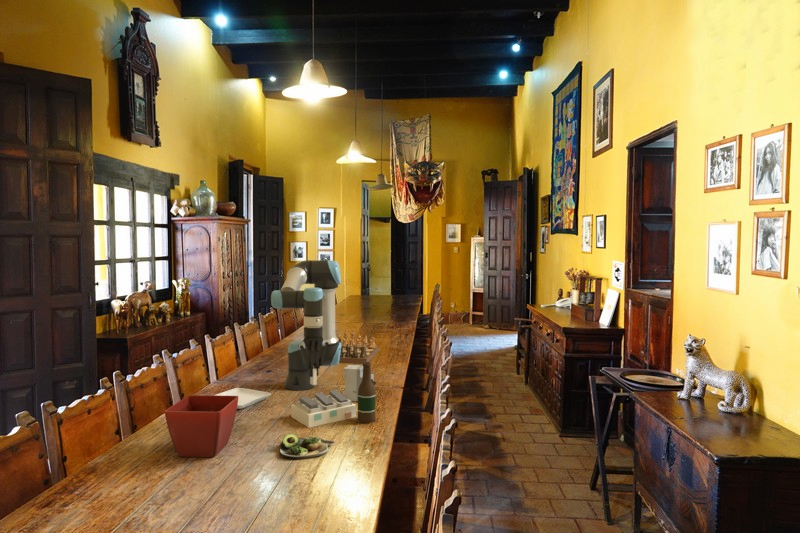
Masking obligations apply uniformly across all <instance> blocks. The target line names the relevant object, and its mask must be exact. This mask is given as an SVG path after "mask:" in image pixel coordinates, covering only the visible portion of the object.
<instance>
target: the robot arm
mask: <svg viewBox="0 0 800 533" xmlns="http://www.w3.org/2000/svg"><path fill="white" fill-rule="evenodd" d="M341 275H342V274H341V269H340V265H339V263H338V261H337V260H331V259H324V260H323V259H321V260H320V259H319V260H318V259H317V260H315V259H314V260H311V259H310V260H308V259H307V260H302V261H300V262H297V263H296V264H294V265H293V266H291V267H290V268H289V270H288V271H287V272H286V279H285V281H284V283H283V285H282V287H281V288H280V289H278V290H277V289H276V290H273V291H271V295H270V302H271V306H272V308H274V309H281V310H282V309H303V326H304V327H303V339H299V340H294V341H292V342H290V343H288V348H287V349H288V350H287V357H288V358H287V361H288V362H287V364H288V365H287V367H288V368H287V374H286V378H285V380H284V388H285V389H286V390H290V391H304V390H310V389H313V388H315V387H316V386H317V384H318V382H317V380H318V379H317V377H318V376H319V369H320V368H321V367H332V366H333V367H334V366H335V367H336V366H338V365H339V364H340V363H339V360H340V353H341V344H342V345H343V343H340V342H339V339H338V338H337V336H336V335H337V334H336V291H337V290H338V288H339V285H340V284H341V282H342V277H341ZM304 285H314V286H313V287H305V288H304V290H301V288H302V286H304Z"/></svg>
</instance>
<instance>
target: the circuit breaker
mask: <svg viewBox="0 0 800 533" xmlns="http://www.w3.org/2000/svg"><path fill="white" fill-rule="evenodd" d="M362 365H363V364H347V365H346V366H344V368H343V372H342V377H343V378H344V389H343V390H342V391H343V392H342V395H343V396H344V397H345V398H346V399H348V400H351V401H352V402H358V388H359V385H360V384H361V382H362V378H363V366H362ZM371 381H372V383H373V384H374V386H375V385H376V384H377V381H375V379H374V373H371Z"/></svg>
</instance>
